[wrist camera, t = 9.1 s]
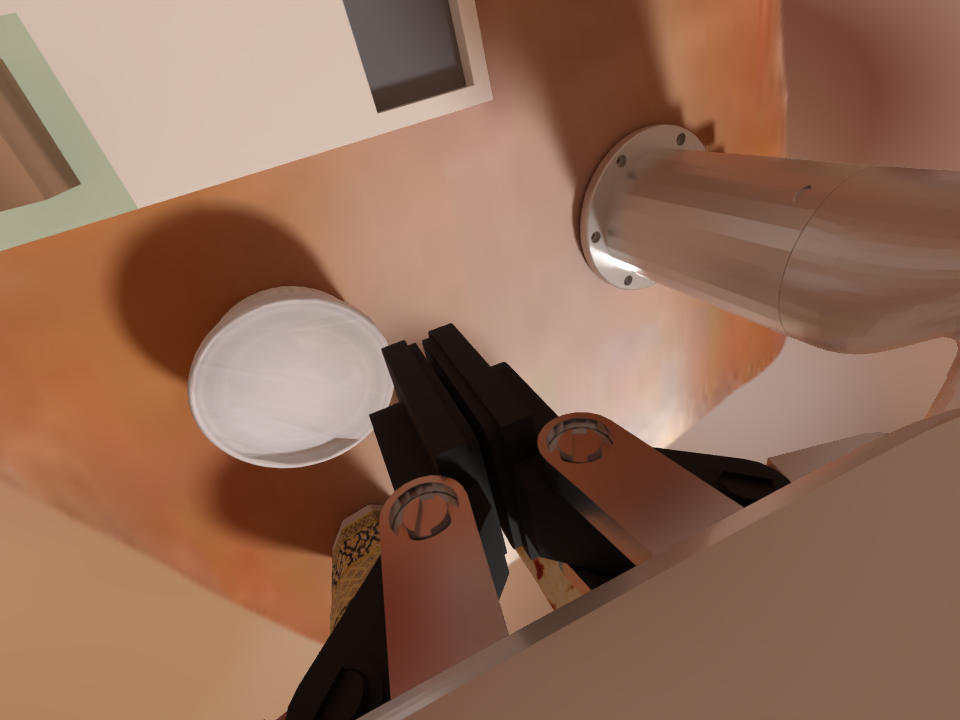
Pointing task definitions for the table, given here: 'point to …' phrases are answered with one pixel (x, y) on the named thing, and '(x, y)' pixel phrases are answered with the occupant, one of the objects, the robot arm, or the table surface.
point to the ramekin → (289, 378)
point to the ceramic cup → (353, 557)
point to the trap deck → (223, 89)
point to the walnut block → (27, 151)
